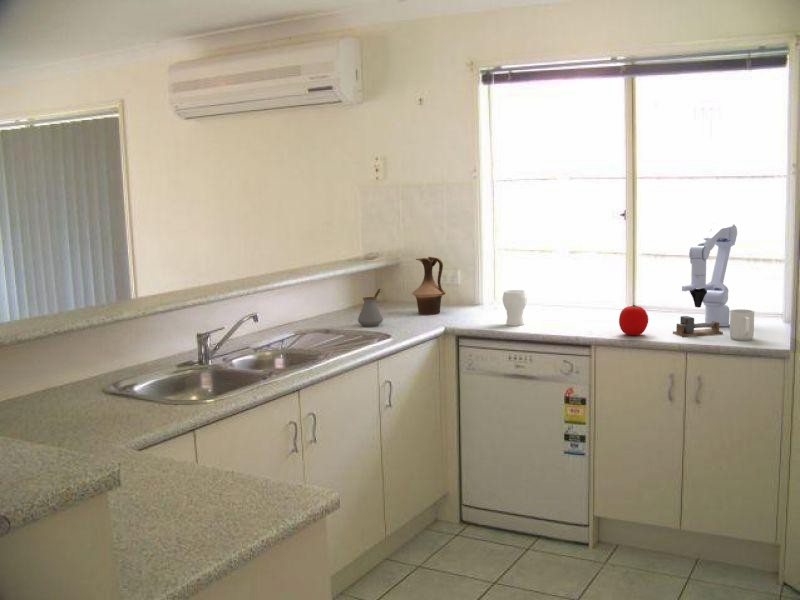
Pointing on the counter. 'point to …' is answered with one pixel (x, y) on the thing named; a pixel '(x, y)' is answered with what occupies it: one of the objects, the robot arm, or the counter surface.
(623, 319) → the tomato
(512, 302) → the cup
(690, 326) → the collar
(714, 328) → the towel rail
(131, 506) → the counter surface
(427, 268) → the pitcher
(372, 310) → the coffee pot
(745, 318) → the mug
